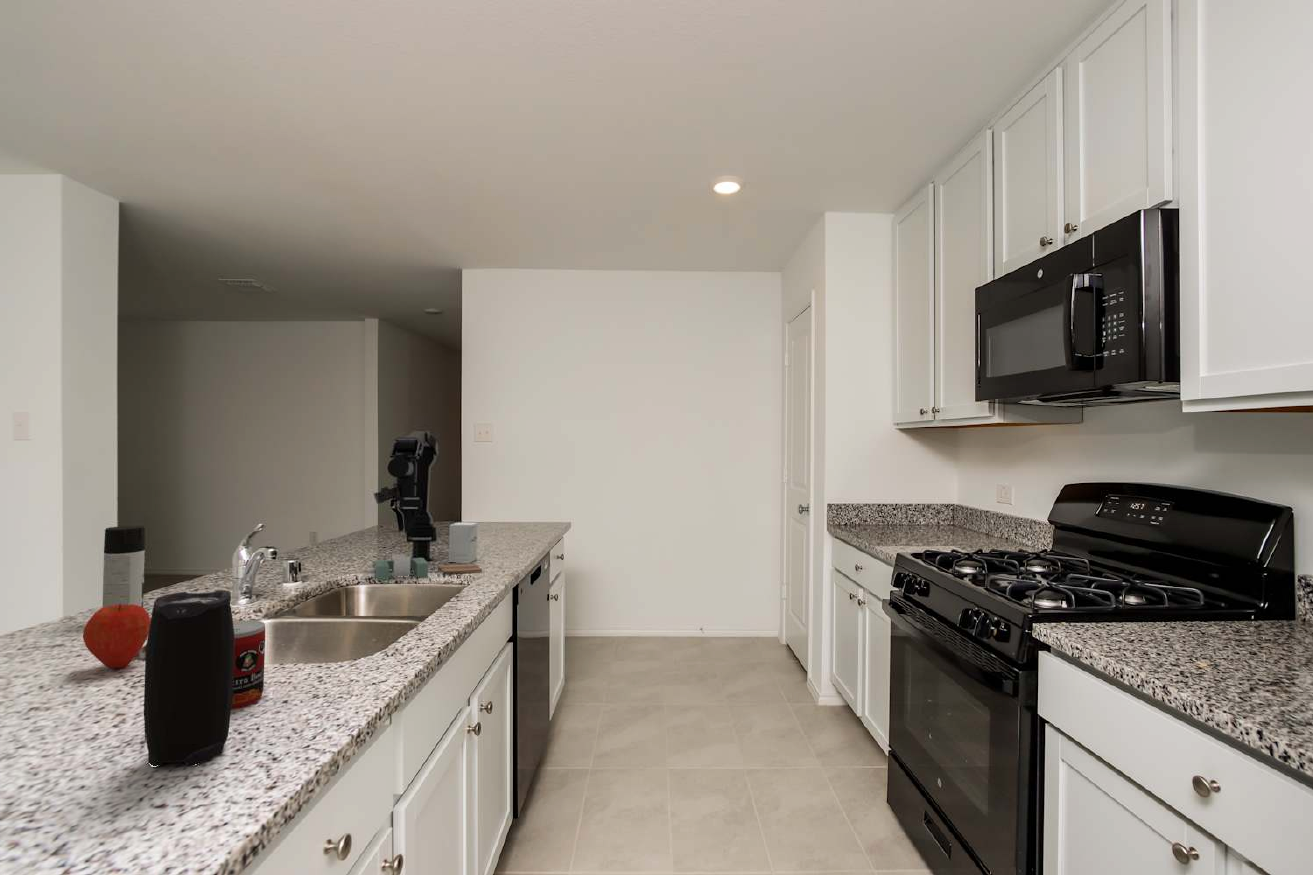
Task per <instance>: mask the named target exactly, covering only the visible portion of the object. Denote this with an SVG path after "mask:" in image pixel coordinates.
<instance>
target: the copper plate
mask: <svg viewBox="0 0 1313 875" xmlns="http://www.w3.org/2000/svg"><path fill="white" fill-rule="evenodd" d="M439 569H440V570H441V571H442V572H443V573H444V574H443V573H442V572H441V571H440V570H439ZM437 570H439V571H440V572H441V573H442V574H443V575H444V576H446V575H445V574H455V575H464V574H465V575H467V574H466V573H468V574H478V573H477V572H481V573H483V568H481V567H480V566H479V565H477V564H476V563H474V562H471V563H451V564H442V565H441V564H440V565H439V564H438V565H437Z"/></svg>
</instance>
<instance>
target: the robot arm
mask: <svg viewBox="0 0 1313 875" xmlns="http://www.w3.org/2000/svg"><path fill="white" fill-rule="evenodd" d="M439 449H440V448H439V444H438V440H437V439H436V438H435V437H434V436H433V435H432V434H431V433H430V431H429V430H428V429H413V430H412V431H411V433H410V434H408V435H407V436H396V437H395V439H394V440H393V442H392V446H391V450H390V453H389V459H391V460H390V461H389V462H388V464H387V472H388V473H389V475H390V476H391V477H394V478H395V481H394V482H393V484H392V487H388V486H384V487H381V488H380V489H379V491H377V492H374V493H373V496H374V499H375V503H376V504H379V505H380V504H382V503H385V502H386V501H388V508H389V509H390V510H391V511H392V512H393V513H394V515H395V519H396V524H397V529H398V532H404V533H406V534H405V535H406V542H407V543H411V548H412V549H411V558H410V559H412V558H424V559H425V560H426V562H428V561H433V557H431V543H434V542H437V540H438V539H437V538H438V535H437V528H436V526H435V523H434V519H433V517H432V515H431V513H430V510H429V506H430V492H431V491H430V488H431V474H432V472H431V470H432V469H431V468H432V467H433V466H434V465H435V463H436V461H437V456H439Z"/></svg>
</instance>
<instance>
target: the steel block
mask: <svg viewBox="0 0 1313 875" xmlns="http://www.w3.org/2000/svg"><path fill="white" fill-rule="evenodd" d="M411 557H412V555H410V554H409V553H401V554H391V560H392V571H391V574H392V573H393V576H392V578H393V579H396V578H397V579H398V576H408V575H410V576H411V570H410V558H411Z"/></svg>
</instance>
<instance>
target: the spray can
mask: <svg viewBox="0 0 1313 875" xmlns="http://www.w3.org/2000/svg"><path fill="white" fill-rule="evenodd" d="M103 544H104V545H103V573H102V576H103V580H102V608H104V607H110V606H118V605H120V604H121V605H126V604H128V605H138V606H141V607H143V608H144V604H145V603H144V602H145V601H144V597H145V596H144V595H145V594H144V592H145V589H144V588H145V562H146V561H145V559H146V557H145V555H146V526H144V525H124V526H123V525H121V526H110V527H107V528H105V530H104V543H103Z"/></svg>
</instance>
